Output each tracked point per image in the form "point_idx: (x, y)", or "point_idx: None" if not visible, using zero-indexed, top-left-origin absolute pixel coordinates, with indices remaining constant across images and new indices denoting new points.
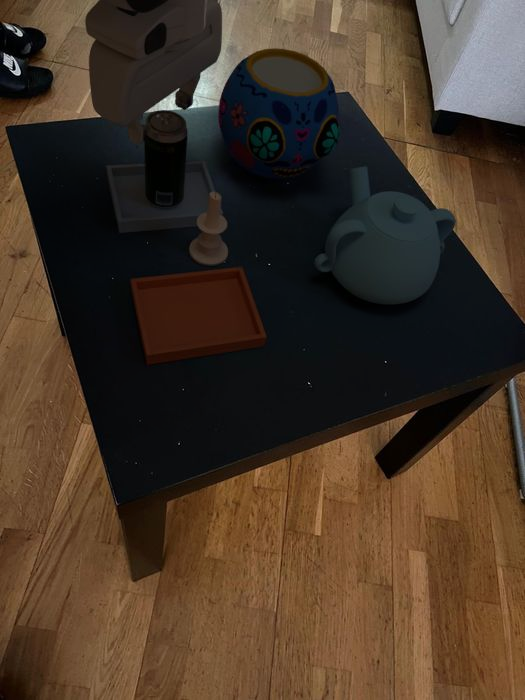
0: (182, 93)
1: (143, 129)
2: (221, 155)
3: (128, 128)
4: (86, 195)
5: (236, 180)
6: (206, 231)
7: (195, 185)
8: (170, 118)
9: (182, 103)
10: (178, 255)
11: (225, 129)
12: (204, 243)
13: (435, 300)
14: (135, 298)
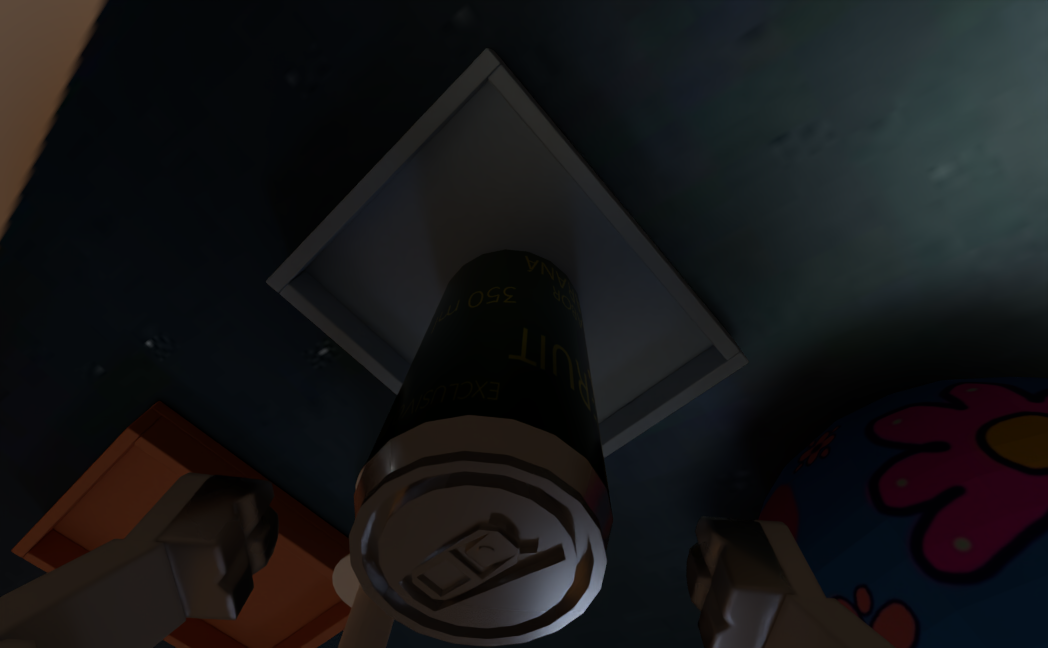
0: (753, 621)
1: (175, 627)
2: (860, 344)
3: (134, 529)
4: (351, 45)
5: (745, 434)
6: (338, 586)
7: (634, 359)
8: (540, 553)
9: (703, 581)
10: (347, 436)
11: (847, 512)
12: None
13: None
14: (92, 467)
